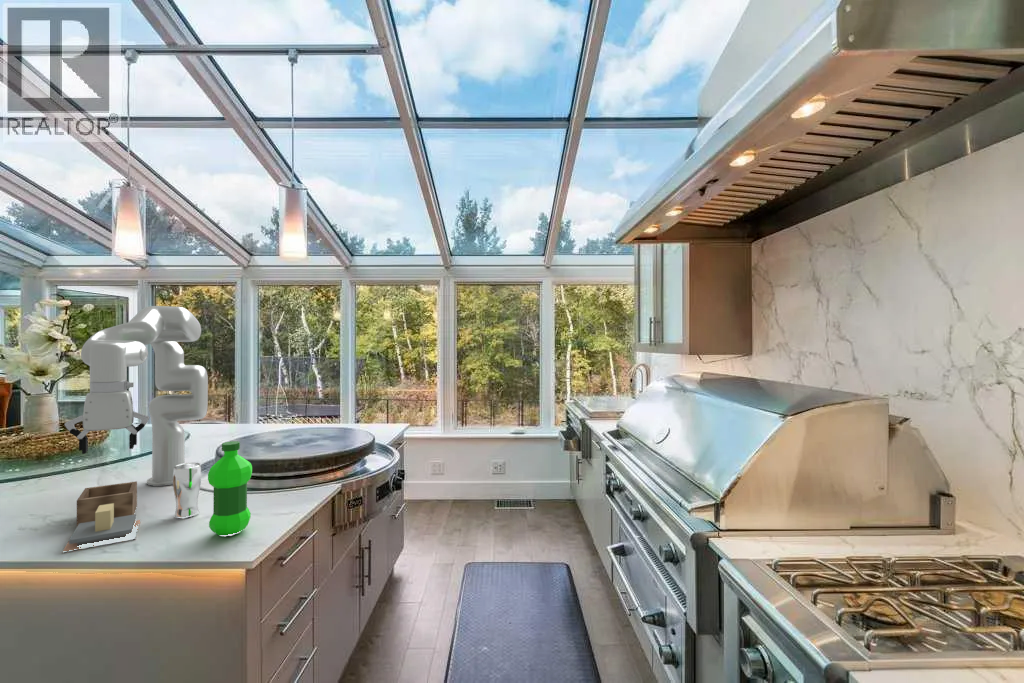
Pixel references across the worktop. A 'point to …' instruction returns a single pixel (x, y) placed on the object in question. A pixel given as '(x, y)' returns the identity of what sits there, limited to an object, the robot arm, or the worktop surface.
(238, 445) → the plastic bottle
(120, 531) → the lid
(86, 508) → the walnut box
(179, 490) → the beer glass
